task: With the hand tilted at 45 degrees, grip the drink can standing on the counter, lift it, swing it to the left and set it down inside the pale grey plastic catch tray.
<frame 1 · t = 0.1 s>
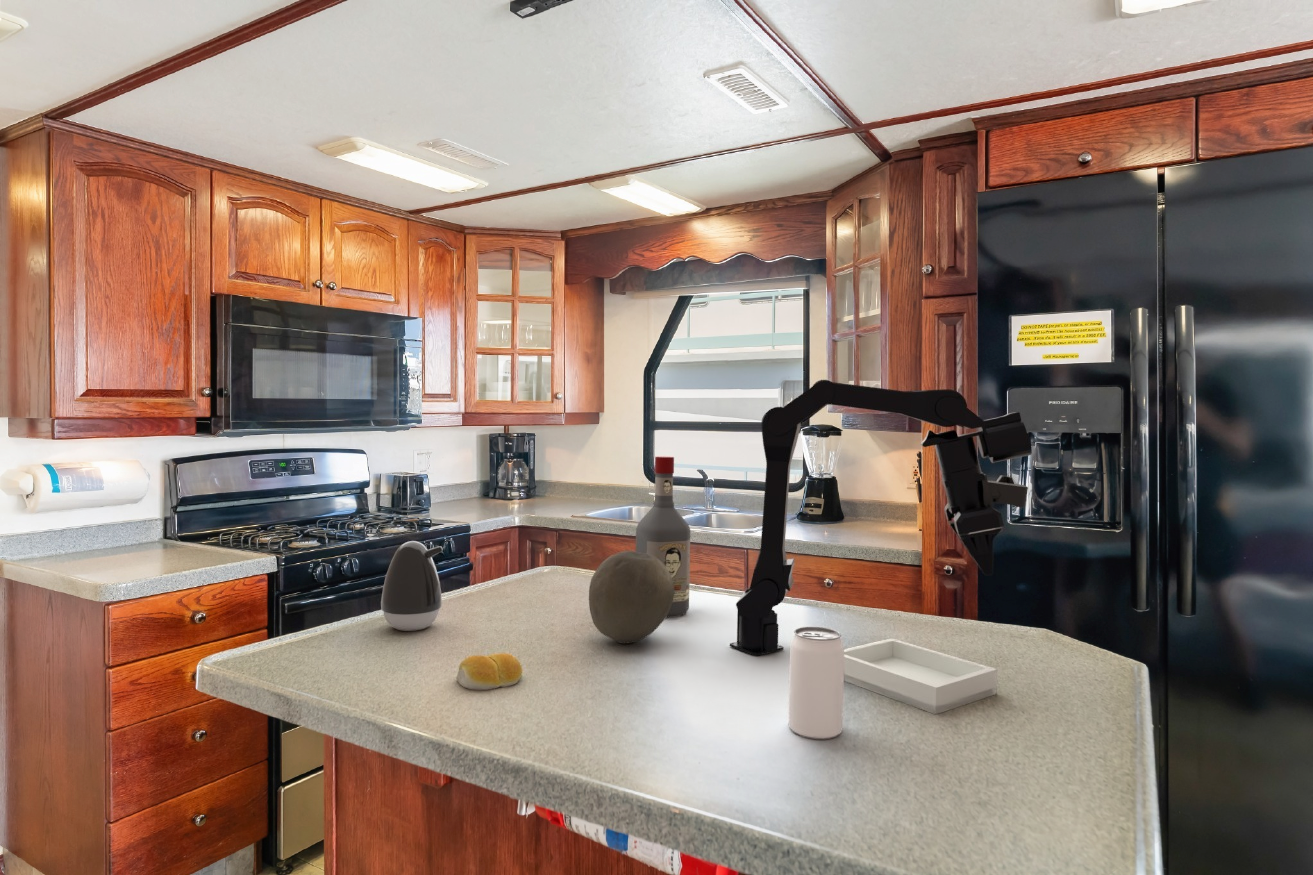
hand: (984, 569, 122), 15 cm above the counter, tool pointing down, fingers open, 9 cm apart
liquor: (661, 612, 154), on the counter
catch tray: (910, 684, 115), on the counter
bread roll: (488, 683, 113), on the counter
can: (815, 731, 98), on the counter
pump dispenser: (412, 628, 140), on the counter
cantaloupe: (629, 641, 134), on the counter
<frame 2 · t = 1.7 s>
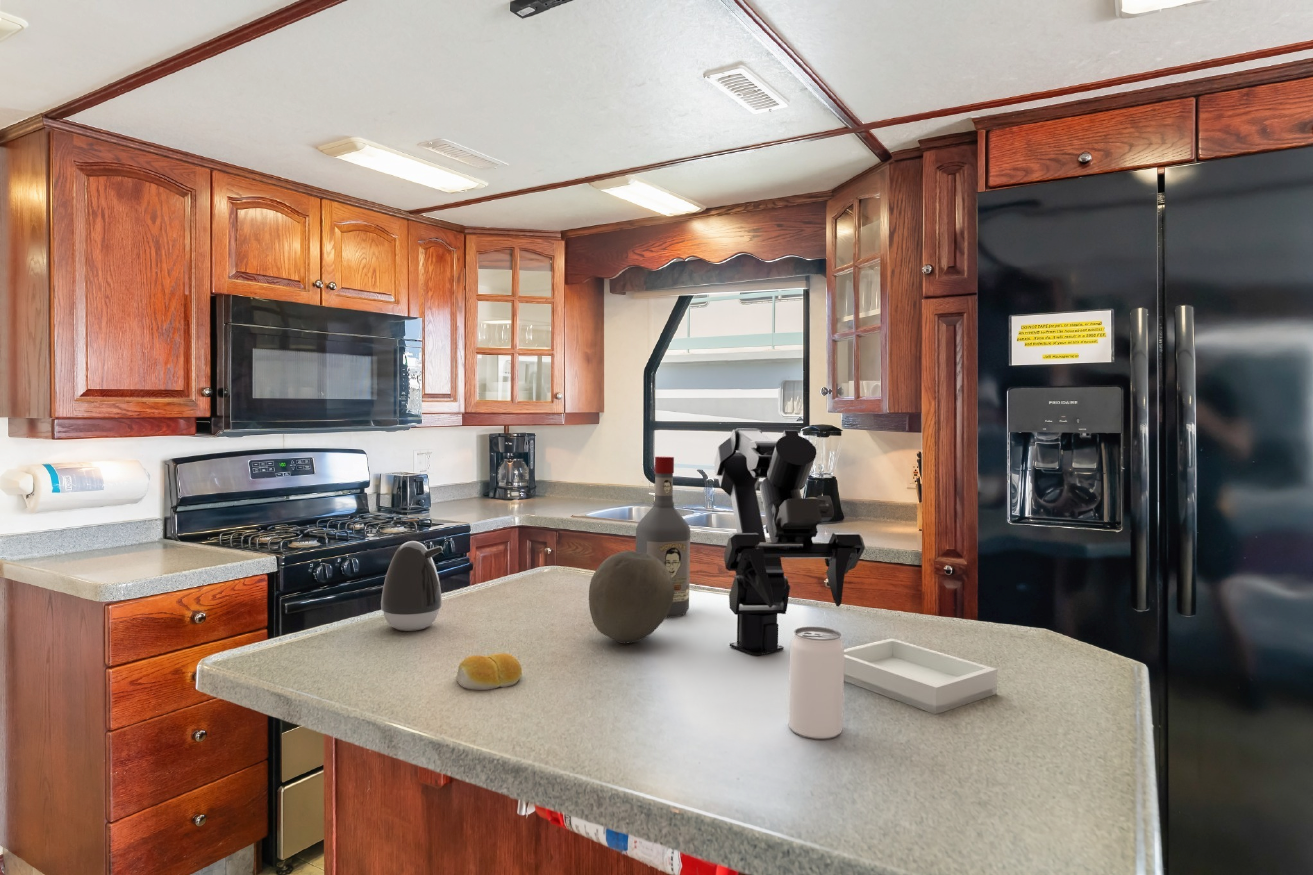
hand: (805, 605, 105), 13 cm above the counter, tool tilted 45°, fingers open, 9 cm apart
nothing on the counter moved.
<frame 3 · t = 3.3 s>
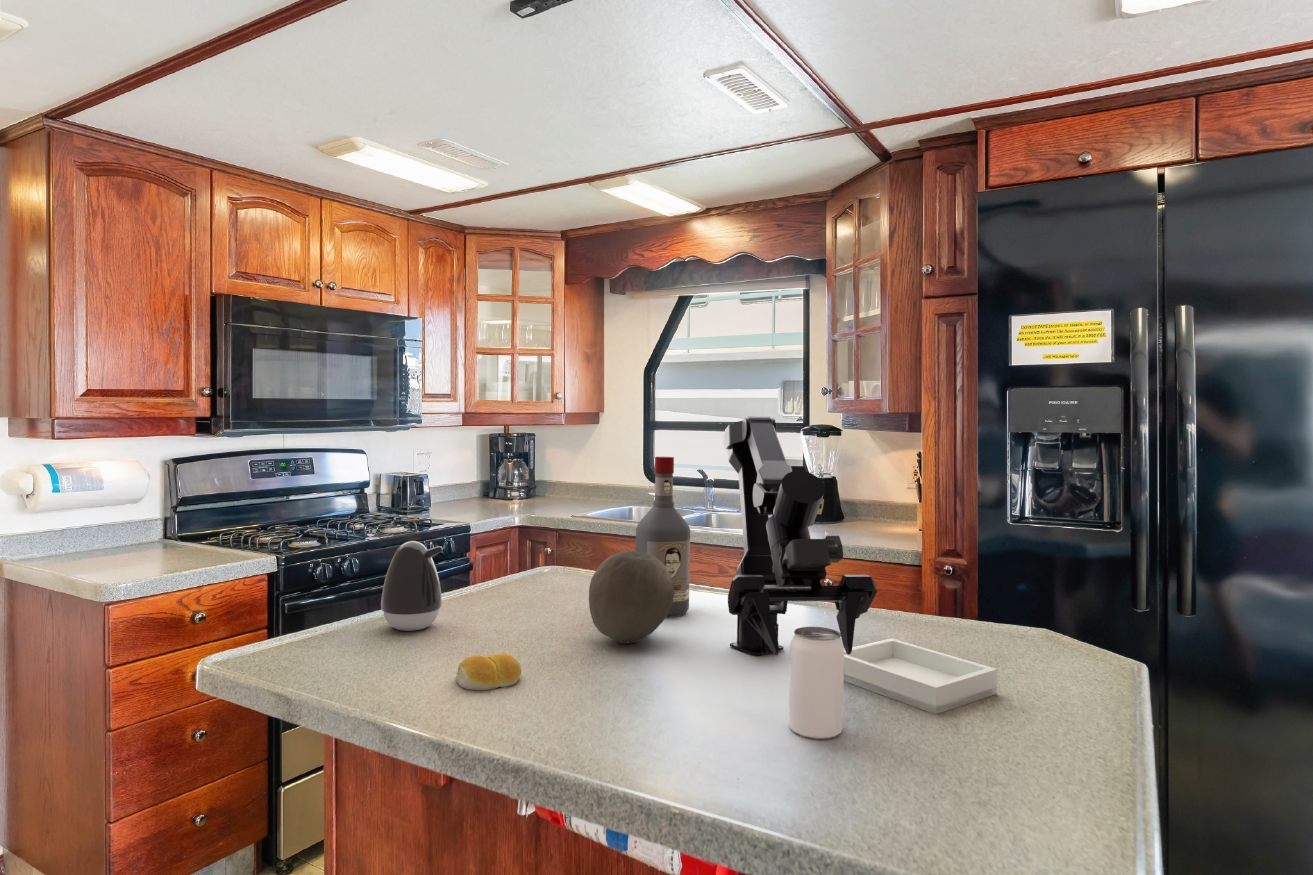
hand: (813, 653, 99), 9 cm above the counter, tool tilted 45°, fingers open, 9 cm apart
nothing on the counter moved.
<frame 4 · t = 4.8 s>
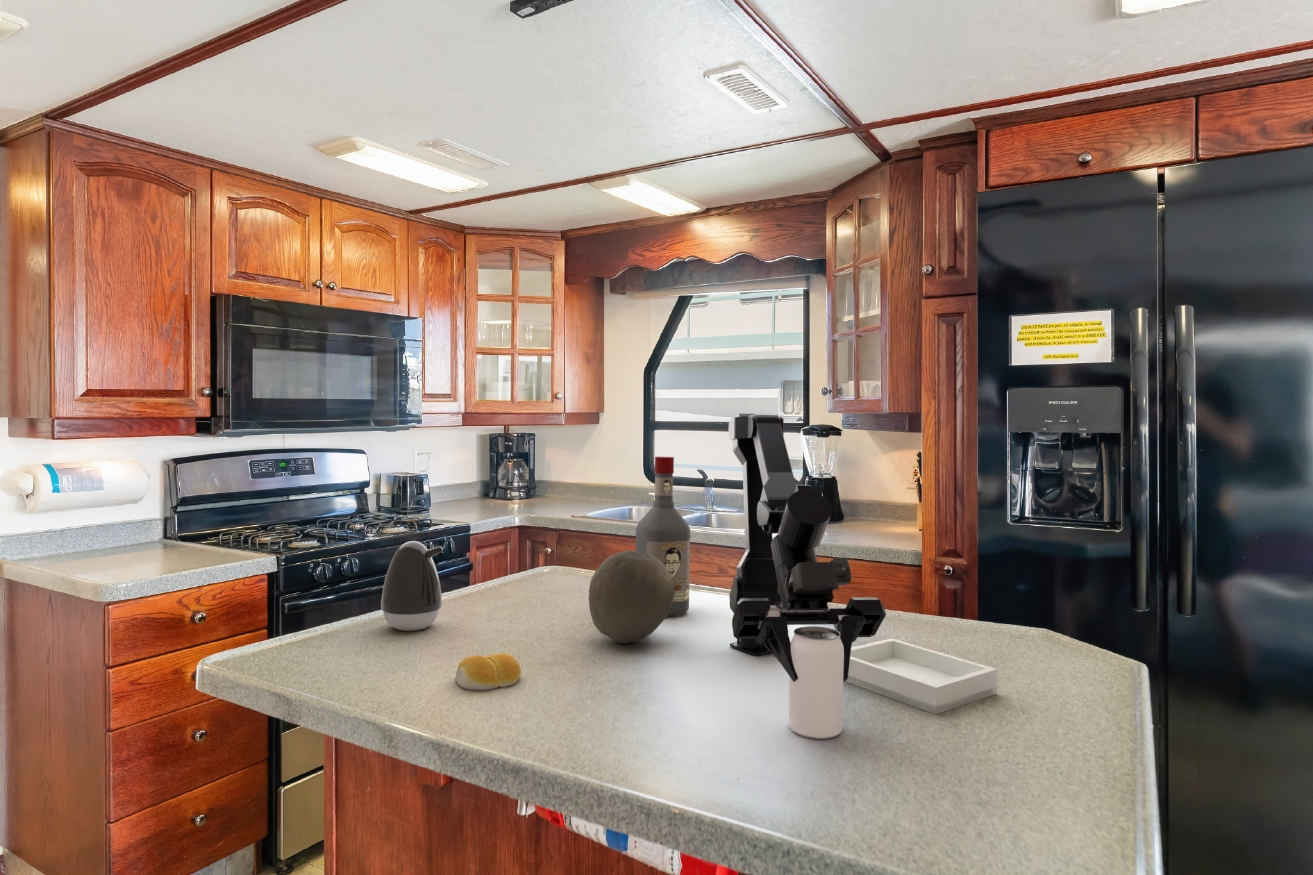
hand: (820, 679, 96), 7 cm above the counter, tool tilted 45°, fingers closed on can, 6 cm apart
can: (815, 731, 98), on the counter, touching gripper
everything else where it was.
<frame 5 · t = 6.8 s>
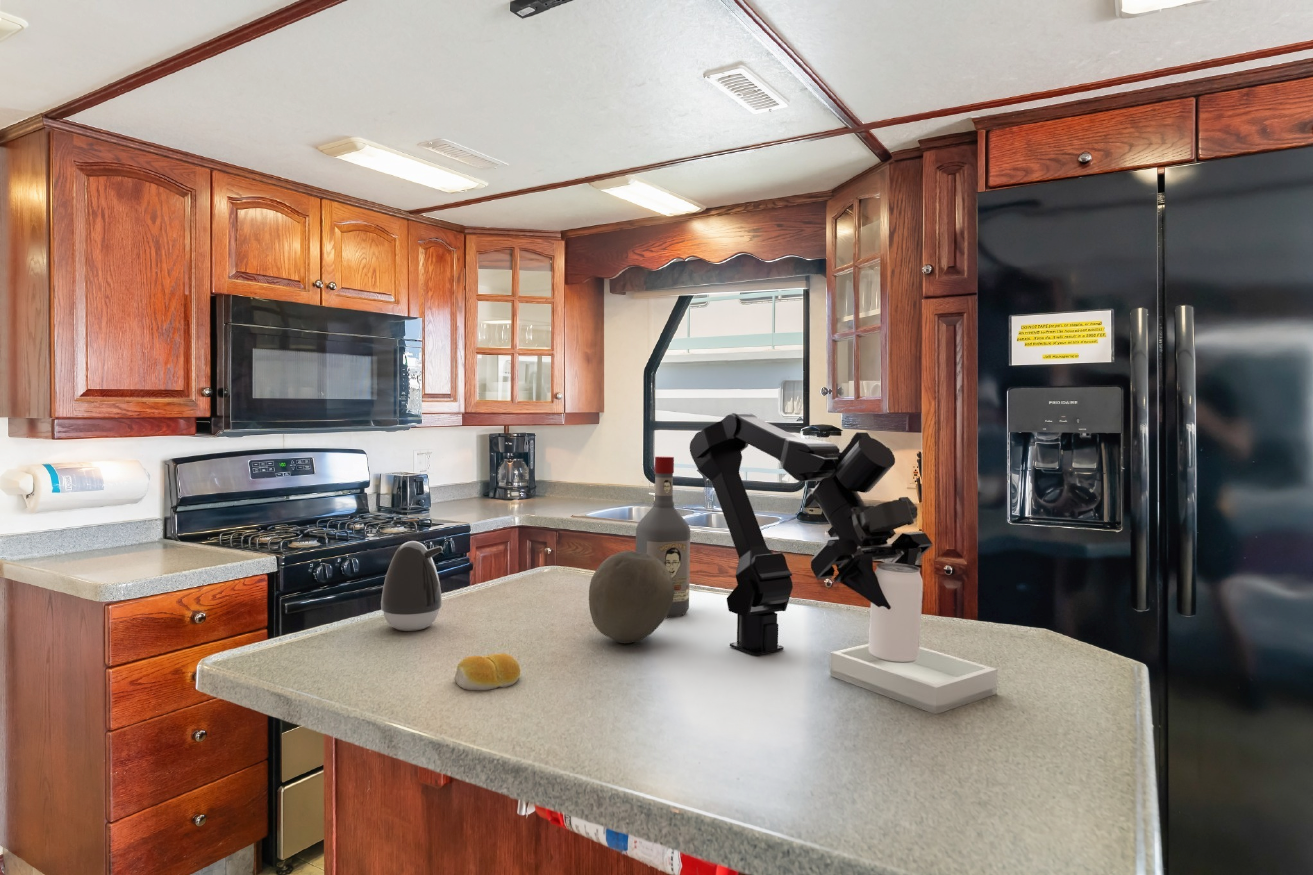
hand: (904, 607, 105), 13 cm above the counter, tool tilted 45°, fingers closed on can, 6 cm apart
can: (893, 657, 106), point 6 cm above the counter, touching gripper
everything else where it was.
when the fingers open (9 cm above the counter, at t = 9.0 s): can stays where it is, resting on catch tray.
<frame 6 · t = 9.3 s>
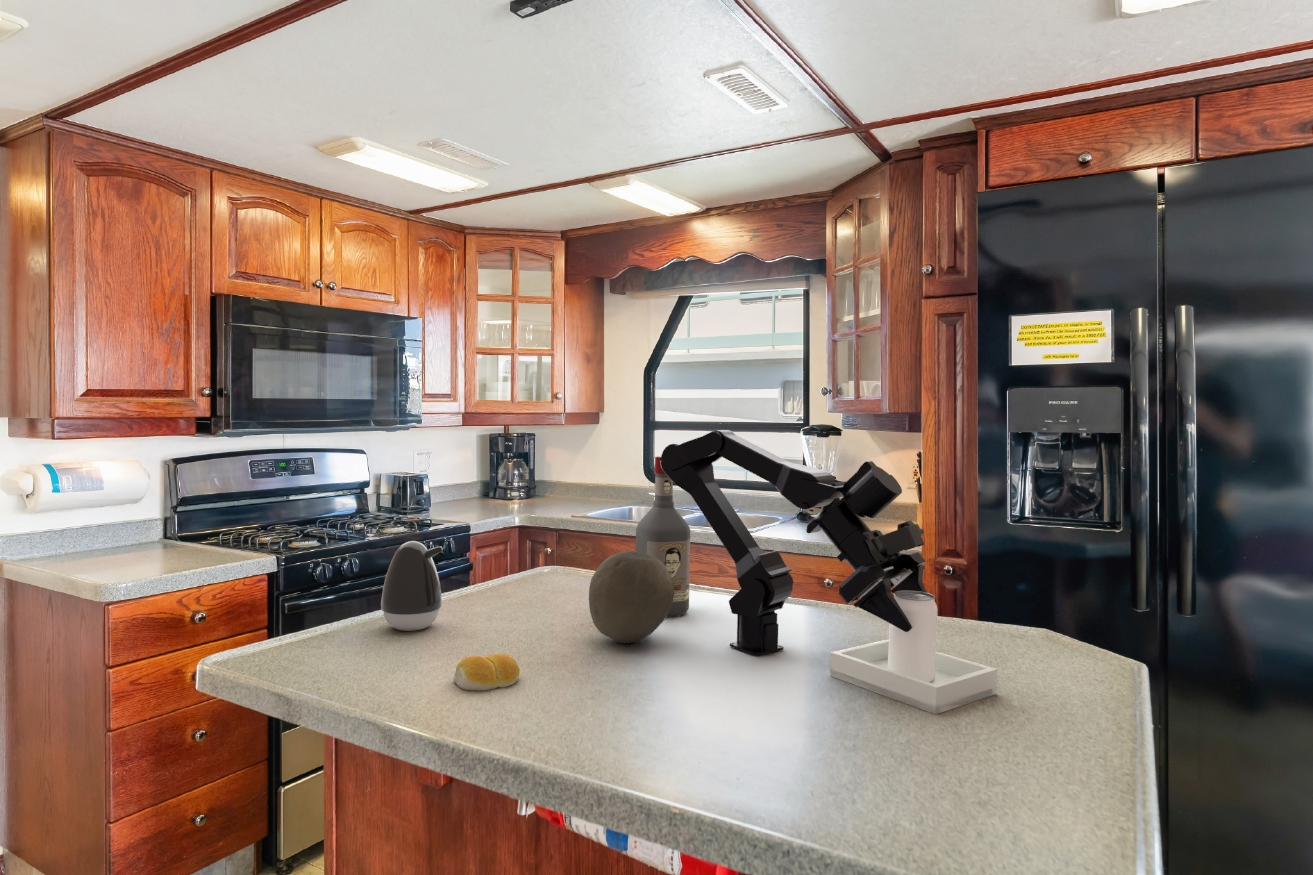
hand: (922, 623, 114), 9 cm above the counter, tool tilted 45°, fingers open, 9 cm apart
can: (910, 678, 115), point 1 cm above the counter, touching catch tray
everything else where it was.
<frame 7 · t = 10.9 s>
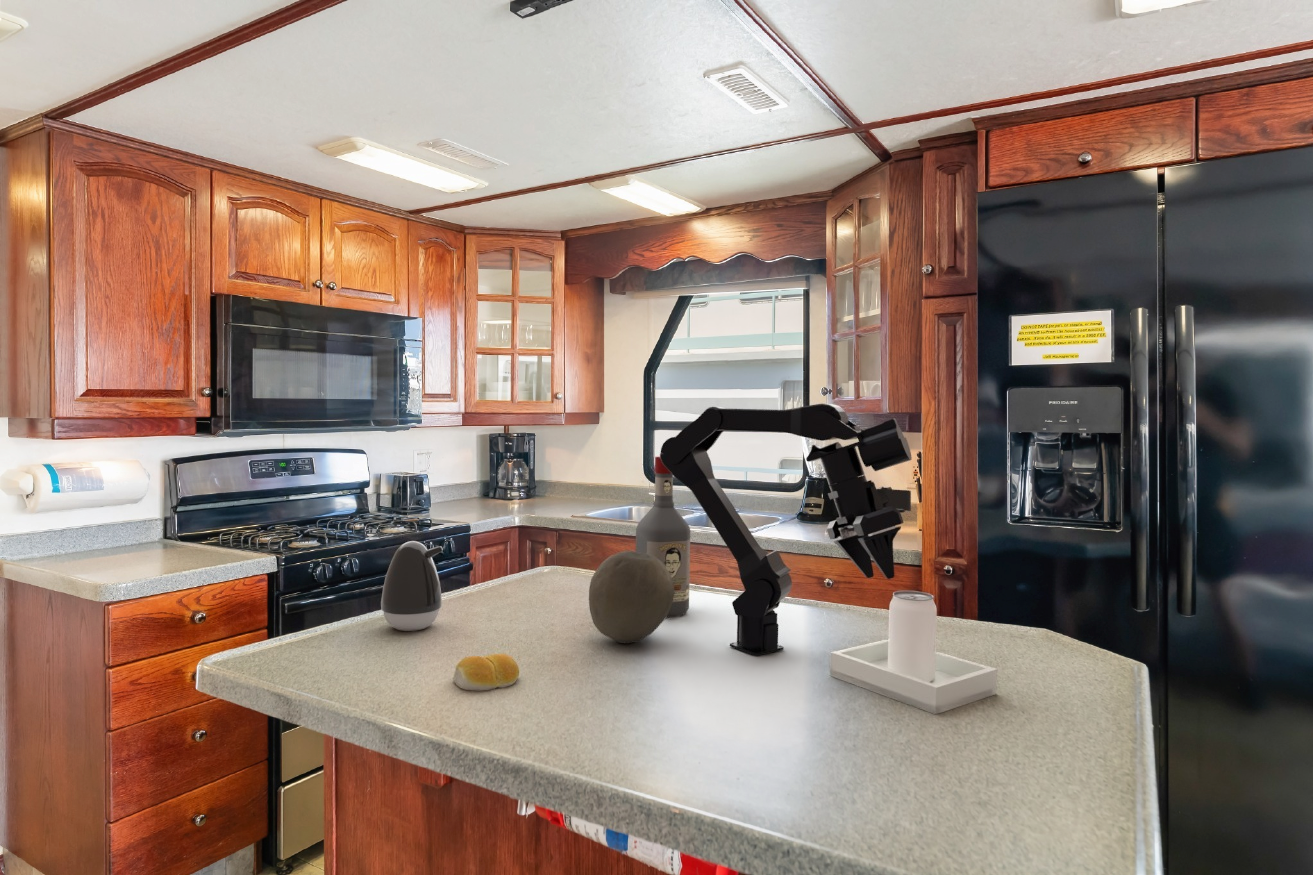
hand: (880, 577, 122), 14 cm above the counter, tool tilted 20°, fingers open, 9 cm apart
nothing on the counter moved.
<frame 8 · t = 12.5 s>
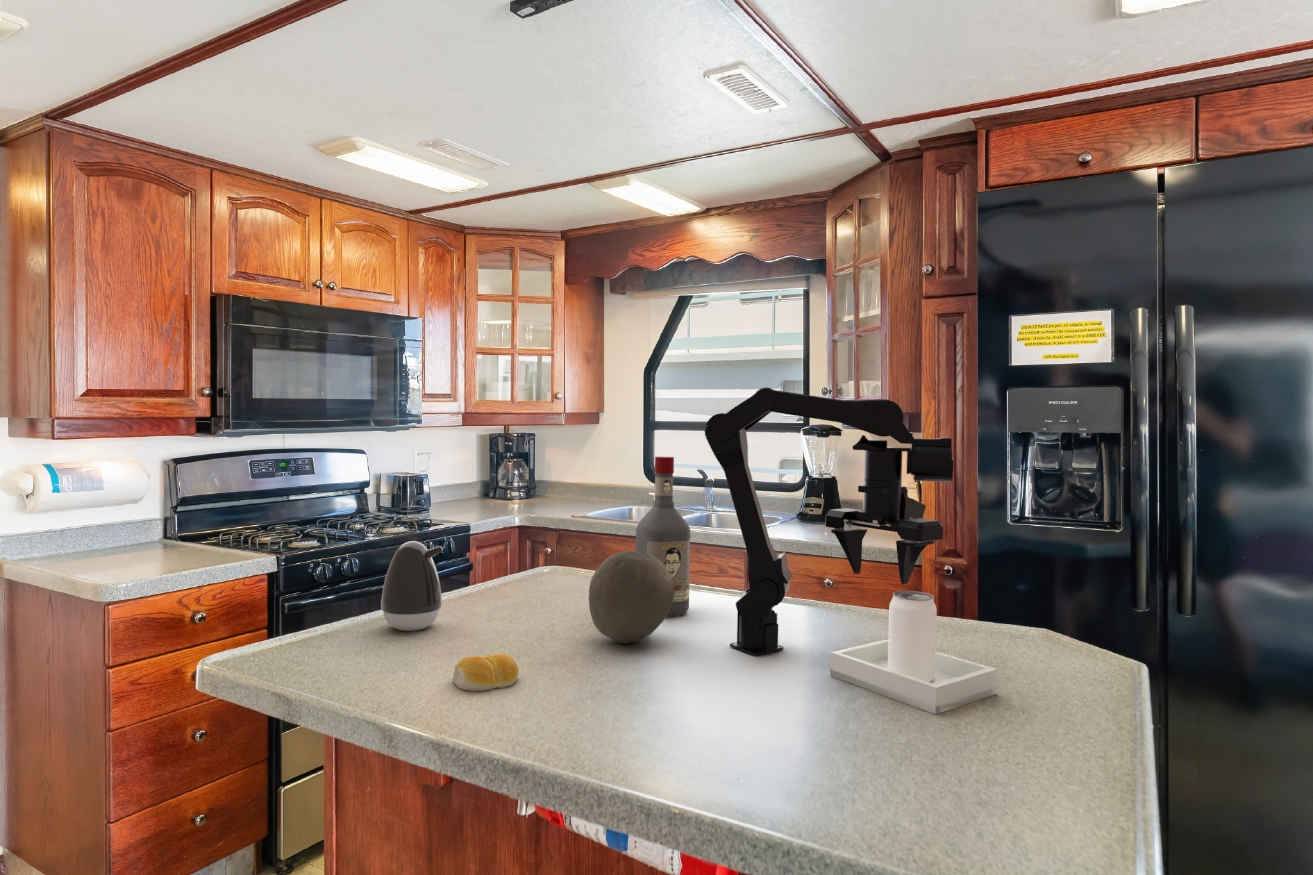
hand: (879, 578, 125), 13 cm above the counter, tool pointing down, fingers open, 9 cm apart
nothing on the counter moved.
at the end: can inside the target area on the catch tray (0.1 cm from its centre), point 0.8 cm above the catch tray's base; can tilted 0°; the gripper is holding nothing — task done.
